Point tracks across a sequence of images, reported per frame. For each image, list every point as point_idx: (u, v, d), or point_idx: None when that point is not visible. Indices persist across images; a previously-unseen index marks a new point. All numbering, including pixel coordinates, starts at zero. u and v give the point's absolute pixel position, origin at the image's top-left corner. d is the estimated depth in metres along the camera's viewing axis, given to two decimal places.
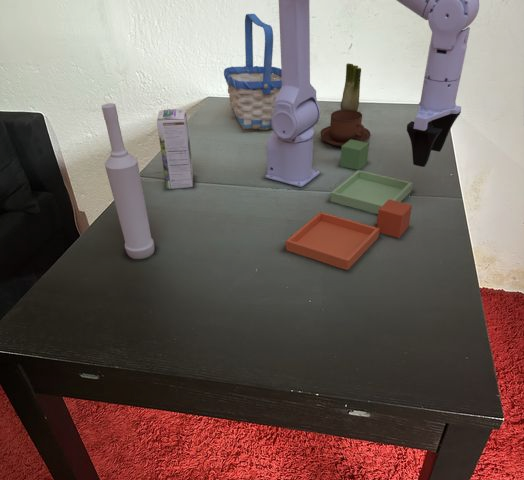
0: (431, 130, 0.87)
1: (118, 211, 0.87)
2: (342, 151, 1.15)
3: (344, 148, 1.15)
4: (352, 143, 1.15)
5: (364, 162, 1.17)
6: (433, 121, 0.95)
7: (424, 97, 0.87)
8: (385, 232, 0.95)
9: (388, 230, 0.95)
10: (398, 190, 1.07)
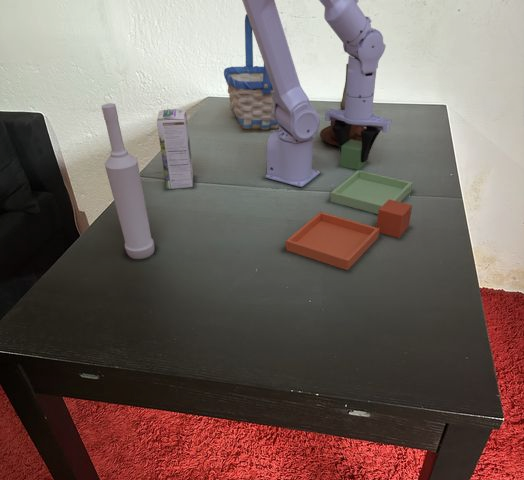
0: None
1: (118, 211, 0.87)
2: (342, 151, 1.15)
3: (344, 148, 1.15)
4: (352, 143, 1.16)
5: (364, 162, 1.17)
6: (343, 135, 1.14)
7: (365, 111, 1.08)
8: (385, 232, 0.95)
9: (388, 230, 0.95)
10: (398, 190, 1.07)
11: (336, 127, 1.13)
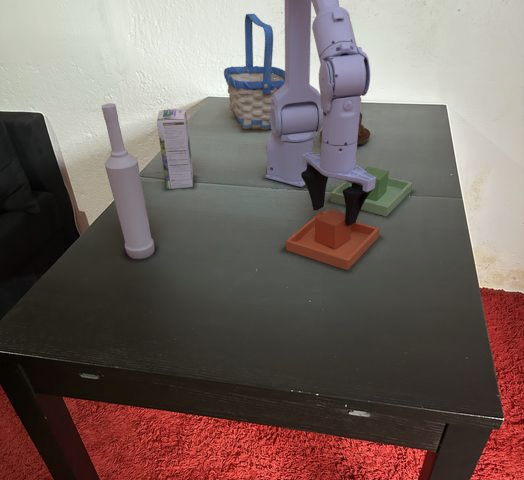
0: None
1: (118, 211, 0.87)
2: None
3: None
4: (370, 171, 1.04)
5: (383, 192, 1.06)
6: (315, 184, 0.91)
7: (343, 163, 0.84)
8: (323, 242, 0.93)
9: (325, 240, 0.92)
10: (398, 190, 1.07)
11: (305, 174, 0.90)
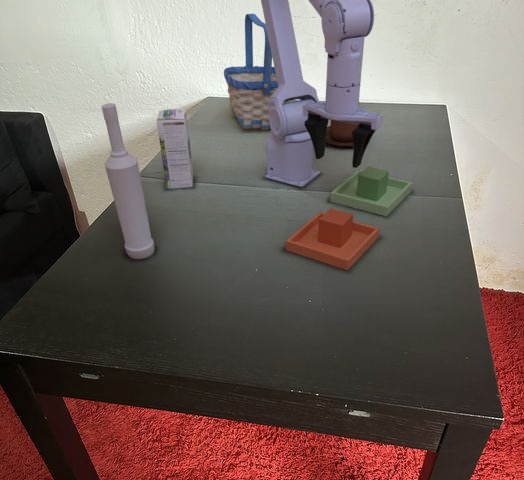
0: None
1: (118, 211, 0.87)
2: (359, 180, 1.04)
3: (361, 177, 1.03)
4: (370, 171, 1.04)
5: (383, 192, 1.06)
6: (318, 132, 0.95)
7: (350, 104, 0.88)
8: (327, 242, 0.93)
9: (330, 240, 0.92)
10: (398, 190, 1.07)
11: (309, 122, 0.93)
